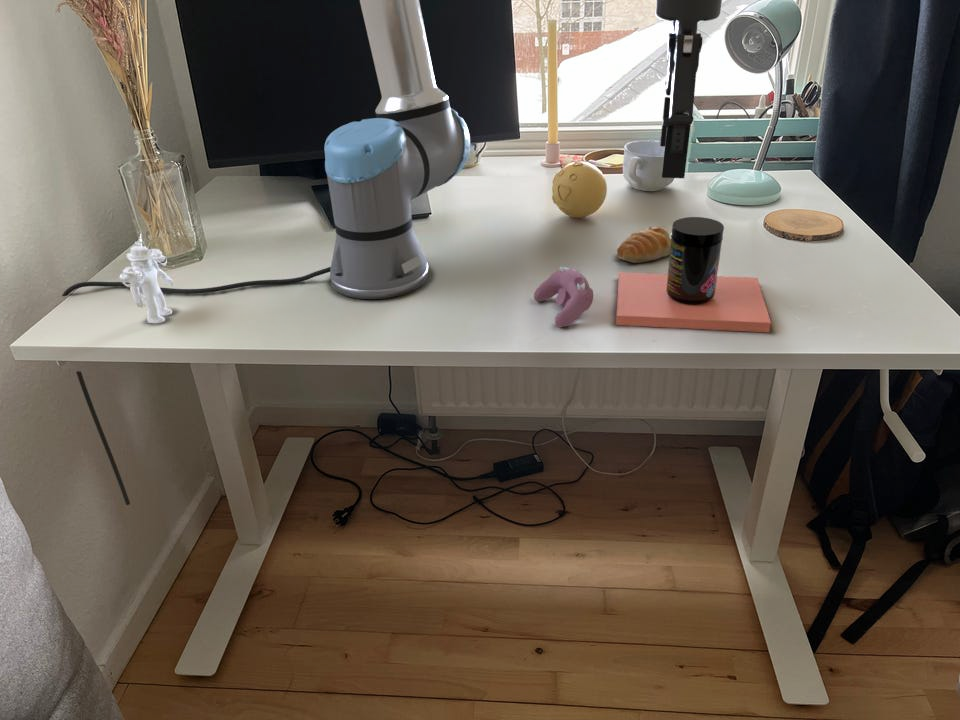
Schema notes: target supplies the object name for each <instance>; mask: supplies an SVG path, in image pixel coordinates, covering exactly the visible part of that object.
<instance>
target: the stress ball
mask: <svg viewBox="0 0 960 720" xmlns="http://www.w3.org/2000/svg"><path fill="white" fill-rule="evenodd" d="M607 185H608V184H607V180H606V178H605V176H604V174H603V172H602V171H601V170H600V169H599V168H598V167H597V166H595V165H594V164H592V163H590V162H588V161H586V160H576V161H574V162H570V163H569V164H567V165H565V166H563V167H562V168H561V169H560V170H559V171H558V172H557V173H555V175H554V177H553V179H552V188H551V194H552V195H551V200H552V201H553V204H555V205H556V207H557V209H559V210H560V211H561V212H562V213H563V214H565V215H566V216H569V217H572V218H585V217H588V216H590V215H593V214H595V213H596V212H597V211H598V210H599V209H600V208H601V207H602V205H603V204H604V202H605V200H606V197H607V191H608V186H607Z"/></svg>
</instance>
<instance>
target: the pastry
mask: <svg viewBox="0 0 960 720" xmlns="http://www.w3.org/2000/svg"><path fill="white" fill-rule="evenodd" d="M670 246H671V236H670V235H669V232H668V230H666V229H664V228H662V227H661V226H656V227H652V226H649V227H648V228H647V229H644V230H643V229H642V230H640V231H636V232H635V231H634V232H633V233H631V234H630V236H629V237H627V238H626V239H625V240H624V241H623V242H622V243H620V245H619V246H618V247H617V251H616V252H617V259H620V260H622V261H625V262H629V263H634V264H637V263H638V264H641V263H643V262H651V261H656V260H659V259H661V258H665V257H667V256H670Z"/></svg>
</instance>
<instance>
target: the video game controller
mask: <svg viewBox="0 0 960 720" xmlns="http://www.w3.org/2000/svg"><path fill="white" fill-rule="evenodd" d="M555 295H556V305H558V306H562V309H561V310H560V311H559V312H558V313H557V314H556V316H555V318H554V324H555V326H556V327H558V328H564V327H567V326H570V325H572V324H574V323H575V322H576V321H577V320H578V319H579V318H580V317H581V316H583V314H584V313H585V312H586V311H587V310H589V309H590V307H591V306H592V303H593V301H594V295H595V294H594V290H593V288H592V287H590V283H589V281H588V279H587V278H586V276H585V275H584V274H583V273H582V272H580V270H576V269H574V268H572V267H563V266H560V267H559V269H556V270H554V272H552V274H550V276H549V277H547V279H546V280H544V281H543V282H542V283H541V284H539V286H538V287H536V288H535V290H534V293H533V299H534V300H535V301H536V302H539V303H541V302H545V301H547V300H549V299H551V298H552V297H554V296H555Z"/></svg>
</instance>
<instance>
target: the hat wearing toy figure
mask: <svg viewBox="0 0 960 720" xmlns="http://www.w3.org/2000/svg"><path fill="white" fill-rule="evenodd" d="M142 238H143V237H142V233H139V237H138V239H137V241H134V244H135V245H133V246H131V247H130V252H128V253H126V259H127V260H128V261H130V265H128V266H125V268H123V269H122V270H121V271H122V273H120V275H119V279H120V282H122V283H123V284H124V285H125V286H127V287H126V288H129V289H130V290H129V291H130V293H131V295H132V299H133V300H134V304H135V306H136V307H137V308H141V309H144V307H146V308H147V313H146V318H147V323H149V324H162V323H165V321H166V318H165V317H164V316H166V317H167V316H171V315H172V314H173V309H172V308H169V307H167V305H166V304H167V302H166V298H165V297H164V292H162V291H161V289H160V287H161V286H160V285H159V283H158V277H159V278H160V280H161V281H162V282H163V283H164V284H165V285H166V286H169V287H173V286H174V281H173V279H172V278H171V277H170V276H169V275H168V274H166V272H165V270H163V269H160V265H159V264H161V265H162V266H163V267H166V265H167V263H168V257H167V255H163V252H162V250H160V248H148V247H147V246H145V245H144V246H143V243H142V242H143V239H142ZM158 263H159V264H158ZM126 282H128V283H130V284H128V285H127V284H125V283H126Z"/></svg>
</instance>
